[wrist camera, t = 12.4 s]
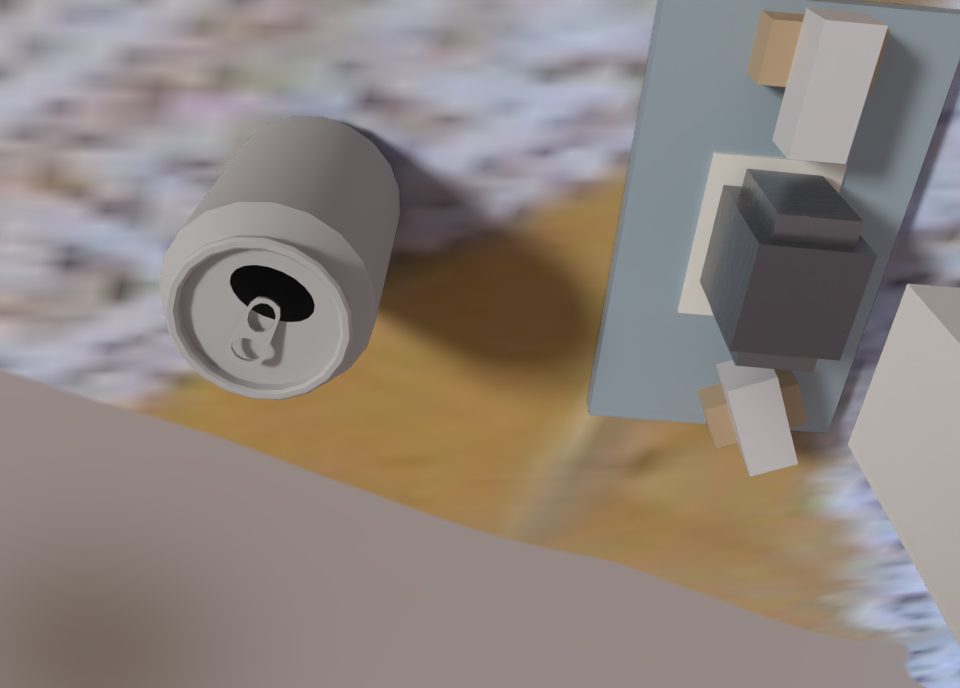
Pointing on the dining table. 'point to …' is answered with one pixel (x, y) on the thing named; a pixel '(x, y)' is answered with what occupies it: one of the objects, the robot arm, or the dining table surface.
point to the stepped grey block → (785, 270)
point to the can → (284, 260)
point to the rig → (723, 161)
